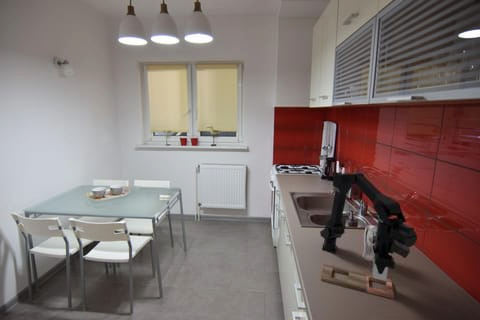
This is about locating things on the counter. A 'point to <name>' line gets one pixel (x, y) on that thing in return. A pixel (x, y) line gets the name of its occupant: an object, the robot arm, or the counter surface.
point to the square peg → (376, 274)
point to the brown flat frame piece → (357, 281)
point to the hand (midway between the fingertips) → (379, 270)
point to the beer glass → (369, 242)
